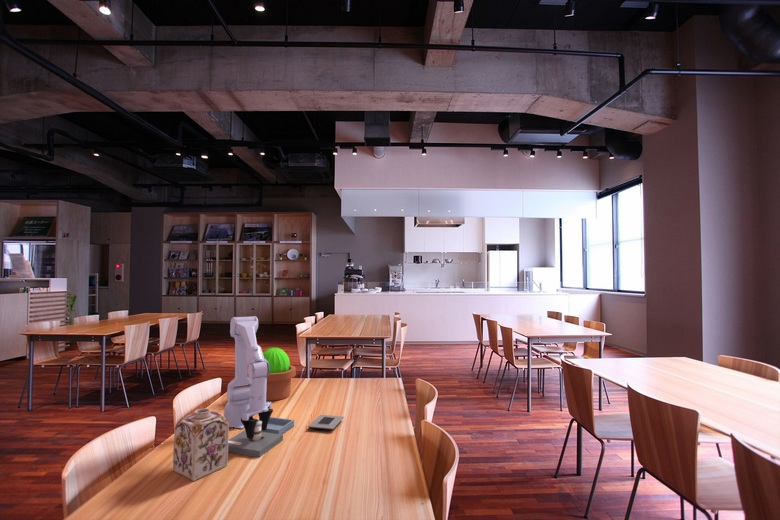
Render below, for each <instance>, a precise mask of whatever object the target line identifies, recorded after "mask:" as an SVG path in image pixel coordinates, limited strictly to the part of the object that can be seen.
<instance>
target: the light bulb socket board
mask: <svg viewBox="0 0 780 520" xmlns="http://www.w3.org/2000/svg"><path fill="white" fill-rule="evenodd" d="M283 440H284V434H282V435H281V434H274V433H267V432H261V440H260V441H259V442H255V441H252V439H249V438H247V435H246V431H245V429H244V430H243V431H241V432H240V433H238V434H236V435H234V436H233V437H230V438H228V453H232V454H238V455H245V456H251V457H255V458H261V457H263V456H264V455H265V454H266V453H268V452H269V451H271V449H274V447H276V446H277V445H279V444H280V443H281V442H282V441H283Z"/></svg>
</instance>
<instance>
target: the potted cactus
mask: <svg viewBox="0 0 780 520" xmlns="http://www.w3.org/2000/svg"><path fill="white" fill-rule="evenodd" d="M262 353H263V356H264V359H266V361H268V363H269V376H268V377H266V378H267V385H266V402H273V401H279V400H284V399H286V398H288V397H290V395H291V391H292V390H291V389H292V386H291V385H292V383H291V382H292V379H293V378H295V376H296V371H297V368H296V366H294V365H292V364H291V361H290V360H291V359H290V357H289V355H288V353H287V352H285V350H284V349H281V348H279V347H277V346H274V347H272V346H269V347H267V349H265V350H264V351H262Z"/></svg>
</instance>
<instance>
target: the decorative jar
mask: <svg viewBox="0 0 780 520" xmlns="http://www.w3.org/2000/svg"><path fill="white" fill-rule="evenodd" d="M229 428H230V427H229V423H228V422H227V420H226V419H225V417H224V413H221V412H219V411H214V410H213V411H212V410H211V409H210V408H206V407H205V408H200V409H199V408H198V409H196V410H195V411H193V413H192V414H188V415H186V416H185V417H183V418H182V419H181V420H180V421H179V422H178V423H177V424H176V425H175V426H174V434H173V435H174V436H173V437H174V438H173V450H172V451H173V453H172V454H173V457H172V471H174V472H175V473H177V474H179V475H181V476H182V477H185V478H186V479H189V480H190V481H193V482H194V481H198V480H199V479H202V478H204V477H206V476H209V475H210V474H213V473H215V472H217V471H220V470H221V468H222V469H223V467H224V468H226V467H227V466H228V462H229V461H228V460H229V459H228V458H229V452H228V440H229V432H230V430H229Z"/></svg>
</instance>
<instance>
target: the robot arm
mask: <svg viewBox="0 0 780 520" xmlns="http://www.w3.org/2000/svg"><path fill="white" fill-rule="evenodd" d="M229 324H230V329H229V333H230V337H231V338H234V348H235V349H234V350H235V351H234V362H235V363H234V365H235V367H234V368H235V369H234V378H233V379H232V380H231V381H230V382H229V383H228V384H227V390H226V400H227V403H226V404H225V406H224V410H223V415H224V417H225V419H226V420H227V422H228V423H229V428H233V427H234V428H235V429H243V428H244V430H245V431H246V435H247V438H249V439H253V437H254V430H255V425H256V422H257V420H261V421H262V425H261V430H266V429H267V425H268V421H269V418H270V417H272V414H273V412H274V409H273V408H272V404H273V403H272V402H273V401H266V385H267V378H266V377H268V376H269V363H268V361H266V359H264V356H263V349H262V347H261V346H260V345H259V344H258V342H257V337H256V336H257V335H256V333H257V332H258V331H257V330H258V329H259V319H258V317H257V316H256V315H254V316H233V317H231V319H230V323H229ZM256 415H258V418H254V416H256ZM234 428H233V429H234Z"/></svg>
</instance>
